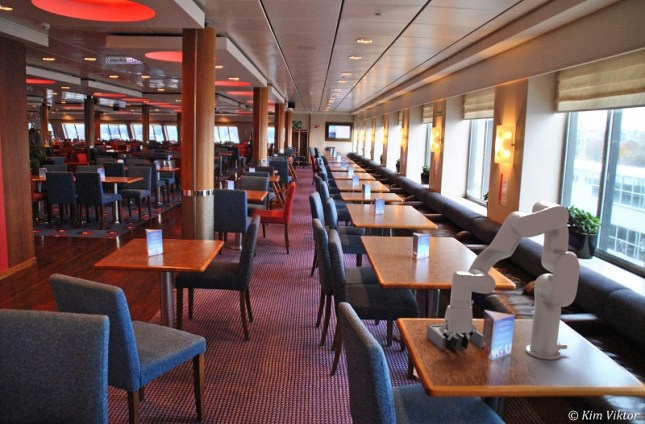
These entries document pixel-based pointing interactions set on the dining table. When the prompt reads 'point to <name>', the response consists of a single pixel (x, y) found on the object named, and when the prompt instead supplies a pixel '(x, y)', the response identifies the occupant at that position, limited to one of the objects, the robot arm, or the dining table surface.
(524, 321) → the dining table surface
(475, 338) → the lane rack
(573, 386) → the dining table surface
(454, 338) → the cream block
